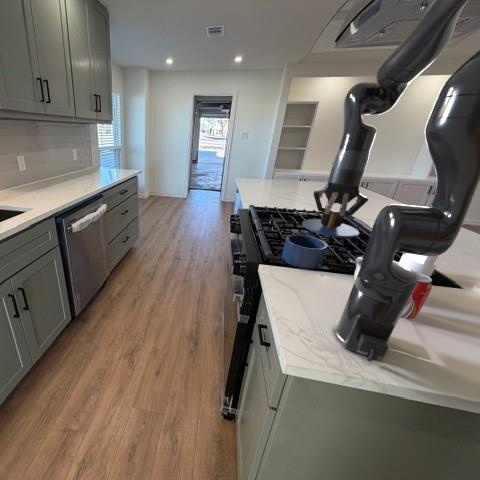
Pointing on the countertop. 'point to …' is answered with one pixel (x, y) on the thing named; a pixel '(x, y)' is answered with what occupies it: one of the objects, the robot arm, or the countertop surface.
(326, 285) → the countertop surface
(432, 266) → the cylinder with rectangular tab
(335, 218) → the pot lid
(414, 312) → the soda can
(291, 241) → the pot
